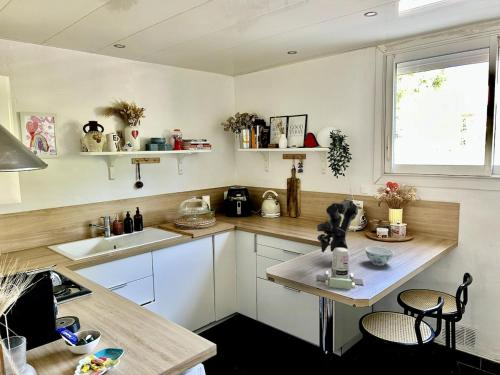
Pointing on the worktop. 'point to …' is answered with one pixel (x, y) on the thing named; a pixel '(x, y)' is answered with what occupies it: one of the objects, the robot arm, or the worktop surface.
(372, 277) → the worktop surface
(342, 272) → the supplement can
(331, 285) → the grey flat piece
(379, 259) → the chinaware
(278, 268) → the worktop surface
